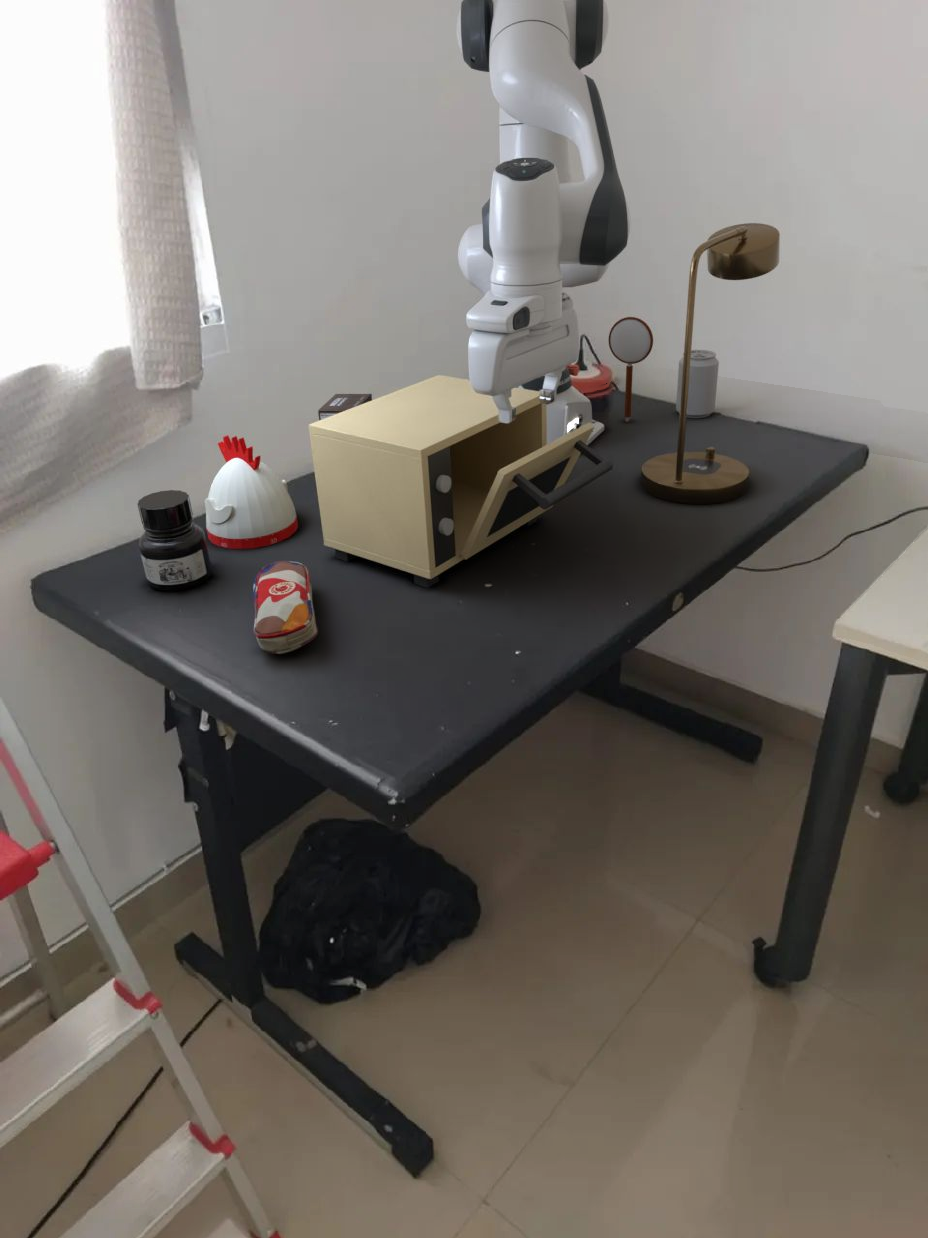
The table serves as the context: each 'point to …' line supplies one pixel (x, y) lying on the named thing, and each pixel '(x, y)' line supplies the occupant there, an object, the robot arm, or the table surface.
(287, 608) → the pencil case
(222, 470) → the kitchen timer
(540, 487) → the oven door
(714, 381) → the can
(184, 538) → the ink bottle
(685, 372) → the lamp
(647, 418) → the table surface
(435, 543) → the oven
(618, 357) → the magnifying glass
